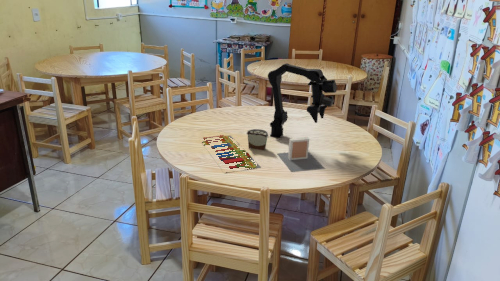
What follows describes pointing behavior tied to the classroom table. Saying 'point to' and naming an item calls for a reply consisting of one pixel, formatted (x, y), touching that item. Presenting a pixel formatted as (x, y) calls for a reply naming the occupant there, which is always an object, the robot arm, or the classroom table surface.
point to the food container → (257, 139)
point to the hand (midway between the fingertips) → (319, 120)
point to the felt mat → (300, 163)
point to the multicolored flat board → (232, 147)
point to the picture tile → (298, 148)
